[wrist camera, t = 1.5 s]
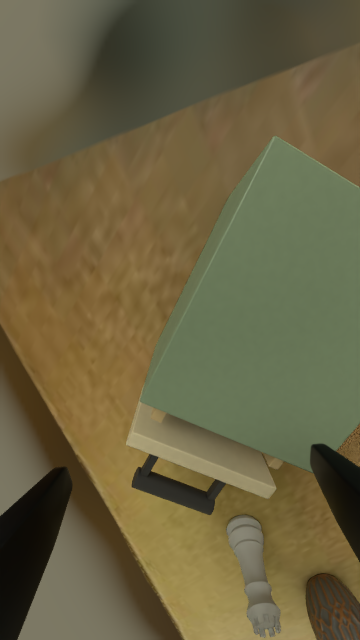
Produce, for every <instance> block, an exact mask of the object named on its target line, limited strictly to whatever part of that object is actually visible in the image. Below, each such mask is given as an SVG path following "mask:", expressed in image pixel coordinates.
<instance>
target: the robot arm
mask: <svg viewBox="0 0 360 640" xmlns="http://www.w3.org/2000/svg"><path fill="white" fill-rule="evenodd" d="M310 465H311V468H312V471H313V473H314V475H315V477H316V479H317V481H318V483H319V486H320V488H321V490H322V492H323V494H324V496H325V498H326V500H327V502H328V504H329V507H330V509H331V511H332V513H333V515H334V517H335V519H336V521H337V523H338V525H339V526H340V528H341V530H342V532H343V534H344V535H345V537H346V539H347V541H348V542H349V544H350V546H351V548H352V549H353V551H354V553H355V555H356V556H357V558H358V560H359V562H360V467H358V466H357V465H355V464H354V463H352V462H351V461H349V460H348V459H346V458H345V457H343V456H342V455H340V454H339V453H337V452H336V451H335V450H333V449H332V448H330V447H329V446H327V445H325V444H323V443H319V444H312V445H311V450H310ZM71 491H72V480H71V477H70V474H69V471H68V468H67V467H65V466H63V467H56V468H54V469H53V470H52V471H50V472H49V473H48V474H47V475H46V476H45V477H43V478H42V479H41V480H40V481H39V482H38V483H37V484H36V485H35V486H33V487H32V488H31V489H30V490H29V491H28V492H27V493H26V494H25V495H23V496H22V497H21V498H20V499H19V500H18V501H17V502H16V503H14V504H13V505H12V506H11V507H10V508H9V509H8V510H7V511H6V512H4V513H3V515H1V516H0V640H17V639H18V637H19V634H20V631H21V629H22V626H23V624H24V621H25V619H26V616H27V614H28V611H29V608H30V606H31V603H32V601H33V599H34V596H35V593H36V591H37V588H38V586H39V583H40V581H41V578H42V576H43V573H44V571H45V568H46V566H47V563H48V561H49V558H50V555H51V553H52V550H53V547H54V545H55V542H56V539H57V536H58V533H59V530H60V526H61V523H62V520H63V517H64V513H65V510H66V507H67V504H68V501H69V498H70V494H71Z"/></svg>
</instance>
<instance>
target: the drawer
mask: <svg viewBox="0 0 360 640" xmlns="http://www.w3.org/2000/svg"><path fill="white" fill-rule="evenodd" d="M143 387H144V386H143ZM142 391H143V388H142ZM141 394H142V392H141ZM140 398H141V395H140ZM140 398H139V402H138V405H137V408H136V412H135V415H134V418H133V422H132V425H131V428H130V432H129V435H128V438H127V442H126V445H128V446H131V447H133V448H136V449H138V450H141V451H144V452H146V453H149V456H148V458H147V460H146V461H145V463H144V465H143V467H142V468H141V467H138V468H137V470H136V472H135V474H134V477H133V481H132V487H133V488H136V489H138V490H141V491H144V492H147V493H149V494H152V495H155V496H158V497H161V498H163V499H166V500H169V501H172V502H174V503H177V504H180V505H183V506H186V507H188V508H191V509H194V510H197V511H199V512H202V513H205V514H208V515H211V514H212V512H213V510H214V505H215V498H216V497H217V495H218V494H219V493H220V491H221V490H222V488H223V487H224V486H225V484H226V483H227V484H230V485H232V486H235V487H238V488H240V489H243V490H245V491H248V492H251V493H253V494H256V495H258V496H261V497H264V498H266V499H269V498H270V496H271V495H272V494H273V493H274V491H275V490H276V486H275V483H274V481H273V479H272V476H271V474H270V472H269V469H268V467H267V465H266V462H265V460H264V458H263V455H264V457H265V459H266V461H267V464H268V466H269V467H271V468H274V469H276V470H278V469H279V468H280V466H281V465H282V464H283V462H284V461H282V460H280V459H277V458H275V457H272V456H270V455H268V454H265V453H263V455H262V453H261V452H260V451H258V450H255V449H253V448H251V447H248V446H246V445H243V444H241V443H238V442H236V441H234V440H231V439H229V438H226V437H224V436H221V435H219V434H217V433H214V432H212V431H209V430H207V429H204V428H202V427H200V426H197V425H195V424H192V423H190V422H187V421H185V420H183V419H180V418H178V417H175V416H173V415H170V414H168V413H165V412H163V411H161V410H158V409H156V408H153V407H151V406H148V405H146V404H144V403H141V402H140ZM158 457H159V458H162V459H165V460H167V461H170V462H172V463H175V464H178V465H180V466H183V467H185V468H188V469H191V470H193V471H196V472H198V473H201V474H204V475H206V476H209V477H211V478H214V479H215V481H214V482H213V483H212V485H211V486H210V488H209V489H208V491H207V492H205V491H203V490H200V489H197V488H195V487H192V486H189V485H187V484H184V483H181V482H179V481H176V480H173V479H171V478H168V477H165V476H163V475H160V474H157V473H155V472H152V471H151V469H152V468H153V466H154V464H155V463H156V461H157V459H158Z"/></svg>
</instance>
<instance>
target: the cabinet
mask: <svg viewBox="0 0 360 640" xmlns="http://www.w3.org/2000/svg"><path fill="white" fill-rule="evenodd" d="M140 402H141V403H144V404H146V405H148V406H151V407H153V408H156V409H158V410H161V411H163V412H165V413H168V414H170V415H173V416H175V417H178V418H180V419H183V420H185V421H187V422H190V423H192V424H195V425H197V426H200V427H202V428H204V429H207V430H209V431H212V432H214V433H217V434H219V435H221V436H224V437H226V438H229V439H231V440H234V441H236V442H238V443H241V444H243V445H246V446H248V447H251V448H253V449H255V450H258V451H260V452H263V453H265V454H268V455H270V456H272V457H275V458H277V459H280V460H282V461H285V462H287V463H289V464H292V465H294V466H297V467H299V468H302V469H304V470H306V471H309V472H311V473H313V471H312V468H311V465H310V450H311V445H312V444H319V443H323V444H325V445H327V446H329V447H330V448H332V449H333V450H335V451H337V449H338V448H339V447H340V446H341V445H342V444H343V442H344V441H345V440H346V439H347V438H348V437H349V435H350V434H351V433H352V432H353V431H354V430H355V428H356V427H357V426H358V425H359V424H360V187H358V186H356V185H355V184H353V183H352V182H350V181H348V180H347V179H345V178H343V177H342V176H340V175H339V174H337V173H335V172H334V171H332V170H330V169H329V168H327V167H326V166H324V165H322V164H321V163H319V162H318V161H316V160H314V159H313V158H311V157H309V156H308V155H306V154H305V153H303V152H301V151H300V150H298V149H296V148H295V147H293V146H292V145H290V144H288V143H287V142H285V141H284V140H282V139H280V138H279V137H277V136H274V137H273V138H272V139H271V141H270V142H269V143H268V145H267V146H266V147H265V148H264V150H263V151H262V152H261V154H260V155H259V157H258V158H257V159H256V161H255V162H254V163H253V165H252V166H251V167H250V169H249V170H248V171H247V173H246V174H245V176H244V177H243V178H242V180H241V181H240V182H239V184H238V185H237V186H236V188H235V189H234V190H233V192H232V193H231V194H230V196H229V198H228V200H227V202H226V204H225V206H224V208H223V210H222V212H221V214H220V216H219V218H218V220H217V222H216V224H215V226H214V228H213V230H212V232H211V234H210V236H209V238H208V240H207V242H206V244H205V246H204V248H203V251H202V253H201V255H200V257H199V259H198V261H197V263H196V265H195V267H194V269H193V271H192V273H191V275H190V277H189V279H188V281H187V283H186V285H185V287H184V289H183V291H182V293H181V295H180V297H179V299H178V301H177V304H176V306H175V308H174V310H173V312H172V314H171V316H170V318H169V320H168V322H167V324H166V326H165V328H164V330H163V332H162V334H161V336H160V338H159V340H158V342H157V344H156V347H155V350H154V353H153V357H152V360H151V364H150V367H149V370H148V374H147V377H146V381H145V384H144V387H143V391H142V394H141V398H140Z"/></svg>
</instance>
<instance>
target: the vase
mask: <svg viewBox="0 0 360 640" xmlns="http://www.w3.org/2000/svg"><path fill="white" fill-rule="evenodd" d="M306 606H307V611H308V616H309V619H310V622H311V626H312V628H313V631H314V634H315V636H316V639H317V640H360V603H359V602H358V600H357V599H356V598H355V596H354V595H353V594H352V592H351V591H350V590H349V589H348V588H347V587H346V586H345V585H344V584H343V583H342V582H341V581H339V580H338V579H337V578H335V577H334V576H332V575H329V574H320V575H316V576H314V577H312V578H311V579H310V580H309V581H308V584H307V588H306Z"/></svg>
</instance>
